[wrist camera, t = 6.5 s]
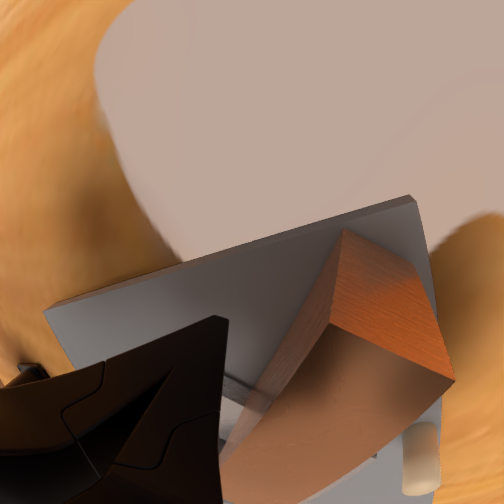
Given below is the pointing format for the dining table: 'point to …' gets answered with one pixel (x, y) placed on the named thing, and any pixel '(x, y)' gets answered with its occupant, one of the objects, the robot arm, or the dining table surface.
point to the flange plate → (335, 381)
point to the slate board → (264, 325)
